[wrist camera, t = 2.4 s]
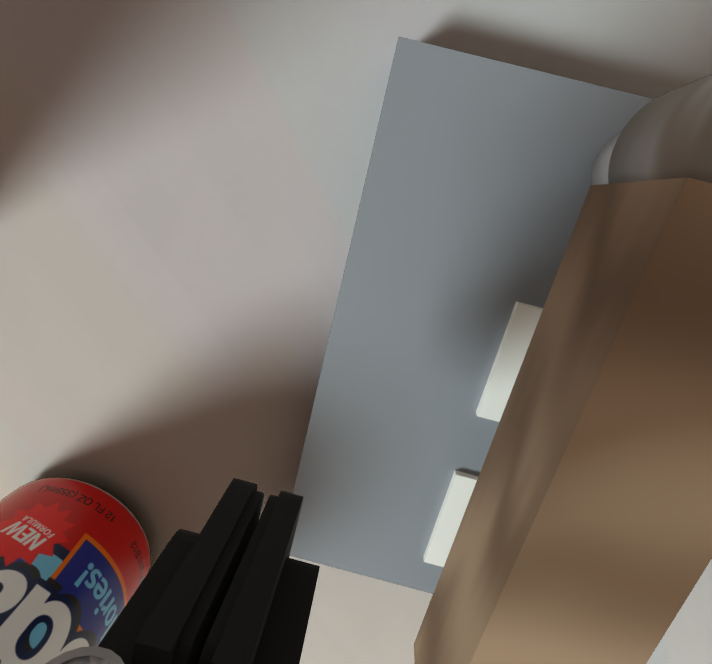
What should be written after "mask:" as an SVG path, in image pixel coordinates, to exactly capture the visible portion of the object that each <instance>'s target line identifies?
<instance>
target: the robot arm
mask: <svg viewBox="0 0 712 664" xmlns="http://www.w3.org/2000/svg"><path fill="white" fill-rule="evenodd" d="M263 497H264V493H262V492H258V491H257V484H254V483H250V482H247V481H243V480H239V479H235V478H234V479H233V480H232V482H231V483H230V485H229V487H228V488H227V490H226V492H225V493H224V495H223V497H222V498H221V500H220V501H219V503H218V505H217V506H216V508H215V510H214V511H213V513H212V515H211V516H210V518H209V520H208V521H207V523H206V525H205V526H204V528H203V530H202V531H201V533H200V534H197V533H194V532H190V531H186V530H182V529H180V530H178V531H177V532H176V533H175V535H174V536H173V537H172V539H171V540H170V541H169V543H168V544H167V546H166V547H165V549H164V550H163V552H162V553H161V555H160V556H159V558H158V559H157V560H156V562H155V563H154V565H153V566H152V568H151V569H150V571H149V572H148V574H147V575H146V577H145V578H144V580H143V581H142V582H141V584H140V585H139V587H138V588H137V590H136V591H135V593H134V594H133V596H132V597H131V599H130V600H129V601H128V603H127V604H126V606H125V607H124V609H123V610H122V612H121V613H120V615H119V616H118V618H117V619H116V620H115V622H114V623H113V625H112V626H111V628H110V629H109V631H108V632H107V634H106V635H105V637H104V638H103V639H102V641H101V642H100V644H99V645H98V646H91V647H80V648H77V649H73V650H70V651H67V652H64V653H62V654H61V655H59V656H57V657H55V658H53V659H52V660H50V661H48V662H47V663H46V664H299V662H300V657H301V653H302V648H303V643H304V638H305V634H306V629H307V624H308V620H309V615H310V610H311V606H312V601H313V596H314V591H315V587H316V582H317V577H318V572H319V567H320V566H317V565H313V564H309V563H305V562H302V561H298V560H294V559H290V558H289V556H290V551H291V547H292V543H293V539H294V535H295V531H296V527H297V523H298V519H299V515H300V510H301V506H302V502H303V496H299V495H296V494H292V493H288V492H284V491H281V492H280V494H279V497H277V496H273V495H270V497H269V499H268V501H267V503H266V506H265V508H264V510H263V512H262V515H261V517H260V519H259V516H260V511H261V507H262V502H263Z"/></svg>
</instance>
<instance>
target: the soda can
mask: <svg viewBox="0 0 712 664" xmlns="http://www.w3.org/2000/svg"><path fill="white" fill-rule="evenodd" d="M149 569H150V548H149V544H148V540H147V537H146V535H145V533H144V531H143V529H142V527H141V525H140V523H139V522H138V520H137V519H136V518H135V516H134V515H133V514H132V513H131V511H130V510H129V509H128V508H127V507H126V506H125V505H124V504H122V503H121V502H120V501H119V500H118V499H116V498H115V497H114V496H112V495H111V494H109V493H108V492H106V491H104V490H102V489H100V488H98V487H96V486H94V485H91V484H89V483H86V482H83V481H79V480H75V479H69V478H45V479H39V480H35V481H32V482H29V483H27V484H25V485H23V486H21V487H19V488H18V489H16V490H14V491H13V492H11V493H10V494H9V495H7V496H6V497H5V498H3V499H2V500H0V664H46V663H47V662H48V661H50V660H52V659H53V658H55V657H57V656H59V655H61V654H62V653H64V652H67V651H70V650H73V649H77V648H80V647H91V646H98V645H99V644H100V642H101V641H102V639H103V638H104V637H105V635H106V634H107V632H108V631H109V629H110V628H111V626H112V625H113V623H114V622H115V620H116V619H117V618H118V616H119V615H120V613H121V612H122V610H123V609H124V607H125V606H126V604H127V603H128V601H129V600H130V599H131V597H132V596H133V594H134V593H135V591H136V590H137V588H138V587H139V585H140V584H141V582H142V581H143V580H144V578H145V577H146V575H147V574H148V572H149Z"/></svg>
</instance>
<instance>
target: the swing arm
mask: <svg viewBox="0 0 712 664" xmlns="http://www.w3.org/2000/svg"><path fill="white" fill-rule="evenodd" d="M711 559H712V74H711V75H709V76H706V77H704V78H701V79H699V80H696V81H694V82H691V83H689V84H686V85H684V86H681V87H679V88H676V89H674V90H671V91H669V92H666V93H664V94H662V95H661V96H659V97H657V98H655V99H654V100H652V101H651V102H649V103H648V104H646V105H645V106H644V107H643V108H641V109H640V110H639V111H638V112H637V113H636V114H635V115H634V116H633V117H632V118H631V119H630V121H629V122H628V123H627V125H626V126H625V127H624V129H623V130H622V132H621V134H620V135H619V137H618V139H617V141H616V143H615V145H614V148H613V151H612V154H611V157H610V162H609V168H608V184H601V185H591V186H590V188H589V191H588V193H587V196H586V199H585V201H584V204H583V206H582V209H581V212H580V214H579V217H578V219H577V222H576V225H575V227H574V230H573V232H572V235H571V238H570V240H569V243H568V245H567V248H566V251H565V253H564V256H563V258H562V261H561V264H560V266H559V269H558V271H557V274H556V277H555V279H554V282H553V284H552V287H551V290H550V292H549V295H548V297H547V300H546V303H545V305H544V308H543V310H542V313H541V316H540V318H539V321H538V323H537V326H536V328H535V331H534V334H533V336H532V339H531V341H530V344H529V347H528V349H527V352H526V354H525V357H524V360H523V362H522V365H521V367H520V370H519V373H518V375H517V378H516V380H515V383H514V386H513V388H512V391H511V393H510V396H509V399H508V401H507V404H506V406H505V409H504V412H503V414H502V417H501V419H500V422H499V425H498V427H497V430H496V432H495V435H494V438H493V440H492V443H491V445H490V448H489V451H488V453H487V456H486V458H485V461H484V464H483V466H482V469H481V471H480V474H479V477H478V479H477V482H476V484H475V487H474V490H473V492H472V495H471V497H470V500H469V503H468V505H467V508H466V510H465V513H464V516H463V518H462V521H461V523H460V526H459V529H458V531H457V534H456V536H455V539H454V542H453V544H452V547H451V549H450V552H449V555H448V557H447V560H446V562H445V565H444V568H443V570H442V573H441V575H440V578H439V581H438V583H437V586H436V588H435V591H434V593H433V596H432V599H431V601H430V604H429V606H428V609H427V612H426V614H425V617H424V619H423V622H422V625H421V627H420V630H419V632H418V635H417V638H416V640H415V643H414V656H415V664H646V663H647V661H648V660H649V658H650V656H651V655H652V653H653V652H654V650H655V648H656V647H657V645H658V644H659V642H660V640H661V639H662V637H663V636H664V634H665V632H666V631H667V629H668V628H669V626H670V624H671V623H672V621H673V620H674V618H675V616H676V615H677V613H678V612H679V610H680V608H681V607H682V605H683V604H684V602H685V600H686V599H687V597H688V596H689V594H690V592H691V591H692V589H693V588H694V586H695V584H696V583H697V581H698V580H699V578H700V576H701V575H702V573H703V571H704V570H705V568H706V567H707V565H708V563H709V562H710V560H711Z"/></svg>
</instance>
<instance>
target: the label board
mask: <svg viewBox="0 0 712 664" xmlns="http://www.w3.org/2000/svg"><path fill="white" fill-rule="evenodd" d="M652 100H654V99H652V98H648V97H644V96H640V95H636V94H631V93H627V92H623V91H619V90H615V89H611V88H607V87H603V86H599V85H595V84H591V83H587V82H582V81H578V80H574V79H570V78H566V77H562V76H558V75H554V74H550V73H546V72H542V71H538V70H533V69H529V68H525V67H521V66H517V65H513V64H509V63H505V62H501V61H497V60H493V59H488V58H484V57H480V56H476V55H472V54H468V53H464V52H460V51H456V50H452V49H448V48H444V47H439V46H435V45H431V44H427V43H423V42H419V41H415V40H411V39H407V38H403V37H398V42H397V46H396V50H395V55H394V59H393V63H392V67H391V72H390V76H389V80H388V85H387V89H386V93H385V98H384V102H383V106H382V111H381V115H380V119H379V123H378V128H377V132H376V136H375V141H374V145H373V149H372V154H371V158H370V162H369V167H368V171H367V175H366V179H365V184H364V188H363V192H362V197H361V201H360V205H359V210H358V214H357V218H356V223H355V227H354V231H353V236H352V240H351V244H350V248H349V253H348V257H347V261H346V266H345V270H344V274H343V279H342V283H341V287H340V292H339V296H338V300H337V304H336V309H335V313H334V317H333V322H332V326H331V330H330V335H329V339H328V343H327V348H326V352H325V356H324V360H323V365H322V369H321V373H320V378H319V382H318V386H317V391H316V395H315V399H314V404H313V408H312V412H311V416H310V421H309V425H308V429H307V434H306V438H305V442H304V447H303V451H302V455H301V460H300V464H299V468H298V473H297V477H296V481H295V485H294V490H293V494H296V495H299V496H303V502H302V506H301V510H300V515H299V519H298V523H297V527H296V531H295V535H294V539H293V543H292V547H291V551H290V556H293V557H297V558H301V559H305V560H308V561H312V562H316V563H319V564H323V565H327V566H331V567H334V568H338V569H342V570H346V571H349V572H353V573H357V574H361V575H364V576H368V577H372V578H376V579H379V580H383V581H387V582H391V583H394V584H398V585H402V586H406V587H409V588H413V589H417V590H421V591H424V592H428V593H432V594H433V593H434V591H435V588H436V586H437V583H438V581H439V578H440V575H441V573H442V570H443V568H444V565H445V562H446V560H447V557H448V555H449V552H450V549H451V547H452V544H453V542H454V539H455V536H456V534H457V531H458V529H459V526H460V523H461V521H462V518H463V516H464V513H465V510H466V508H467V505H468V503H469V500H470V497H471V495H472V492H473V490H474V487H475V484H476V482H477V479H478V477H479V474H480V471H481V469H482V466H483V464H484V461H485V458H486V456H487V453H488V451H489V448H490V445H491V443H492V440H493V438H494V435H495V432H496V430H497V427H498V425H499V422H500V419H501V417H502V414H503V412H504V409H505V406H506V404H507V401H508V399H509V396H510V393H511V391H512V388H513V386H514V383H515V380H516V378H517V375H518V373H519V370H520V367H521V365H522V362H523V360H524V357H525V354H526V352H527V349H528V347H529V344H530V341H531V339H532V336H533V334H534V331H535V328H536V326H537V323H538V321H539V318H540V316H541V313H542V310H543V308H544V305H545V303H546V300H547V297H548V295H549V292H550V290H551V287H552V284H553V282H554V279H555V277H556V274H557V271H558V269H559V266H560V264H561V261H562V258H563V256H564V253H565V251H566V248H567V245H568V243H569V240H570V238H571V235H572V232H573V230H574V227H575V225H576V222H577V219H578V217H579V214H580V212H581V209H582V206H583V204H584V201H585V199H586V196H587V193H588V191H589V188H590V186H591V185H601V184H608V168H609V162H610V157H611V154H612V151H613V148H614V145H615V143H616V141H617V139H618V137H619V135H620V134H621V132H622V130H623V129H624V127H625V126H626V125H627V123H628V122H629V121H630V119H631V118H632V117H633V116H634V115H635V114H636V113H637V112H638V111H639V110H640V109H641V108H643V107H644V106H645V105H646V104H648V103H649V102H651V101H652Z"/></svg>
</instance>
